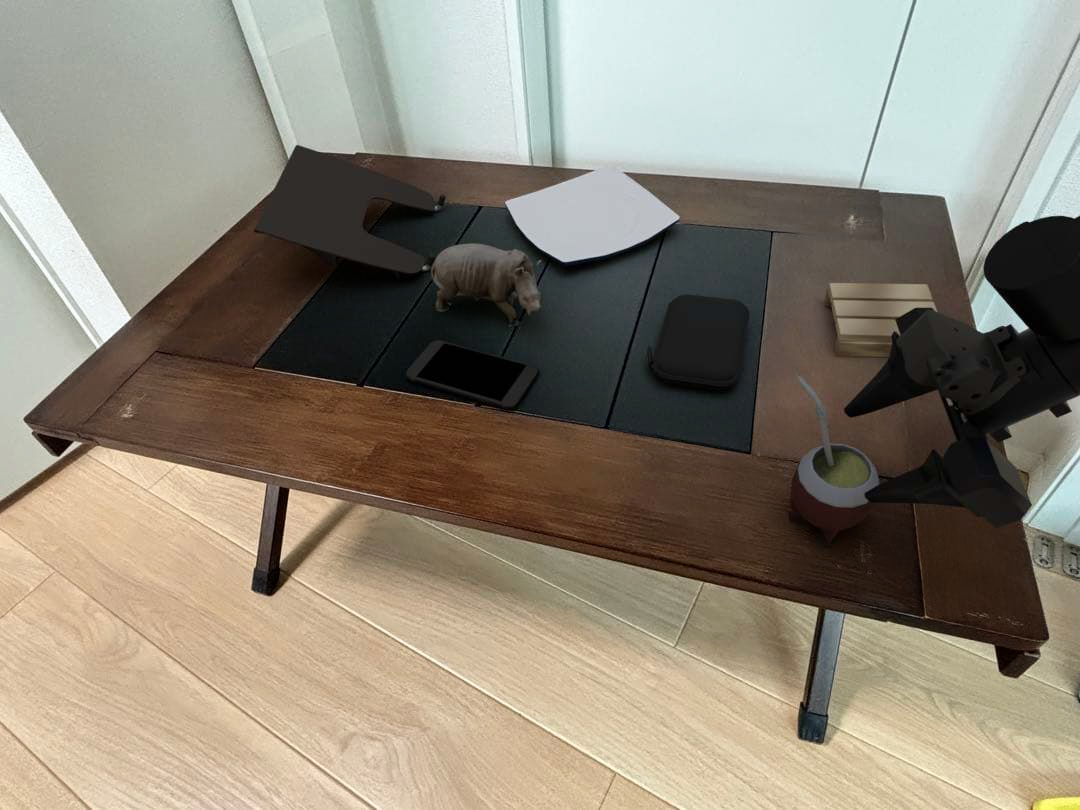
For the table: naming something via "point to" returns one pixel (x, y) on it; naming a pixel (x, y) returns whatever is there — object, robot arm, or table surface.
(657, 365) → the carrying case
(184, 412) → the table surface
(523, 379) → the smartphone
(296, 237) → the laptop tray
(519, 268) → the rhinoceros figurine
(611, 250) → the plate
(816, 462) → the mate gourd
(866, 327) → the rack
